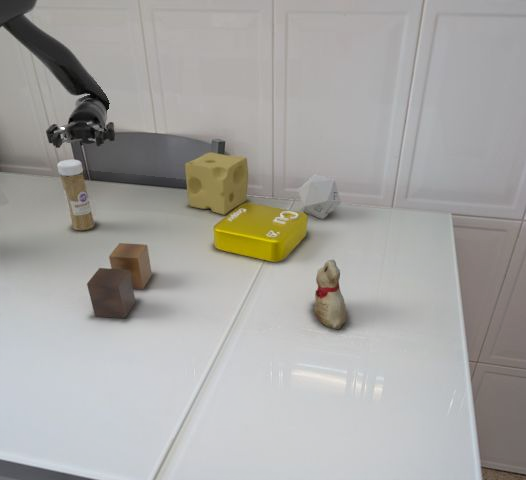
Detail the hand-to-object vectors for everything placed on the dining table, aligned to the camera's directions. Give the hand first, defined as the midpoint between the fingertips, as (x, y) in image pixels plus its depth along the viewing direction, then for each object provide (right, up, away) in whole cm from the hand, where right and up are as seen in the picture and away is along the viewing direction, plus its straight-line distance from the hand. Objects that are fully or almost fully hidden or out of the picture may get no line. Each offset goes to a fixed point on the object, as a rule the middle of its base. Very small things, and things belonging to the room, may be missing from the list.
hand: (77, 142), depth 105 cm
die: (+52, -14, +6) cm, 54 cm away
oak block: (+17, -32, -18) cm, 40 cm away
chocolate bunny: (+50, -39, -26) cm, 68 cm away
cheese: (+29, -10, +10) cm, 32 cm away
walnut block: (+16, -38, -25) cm, 47 cm away
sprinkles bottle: (+1, -18, 0) cm, 18 cm away
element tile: (+39, -22, -5) cm, 45 cm away
